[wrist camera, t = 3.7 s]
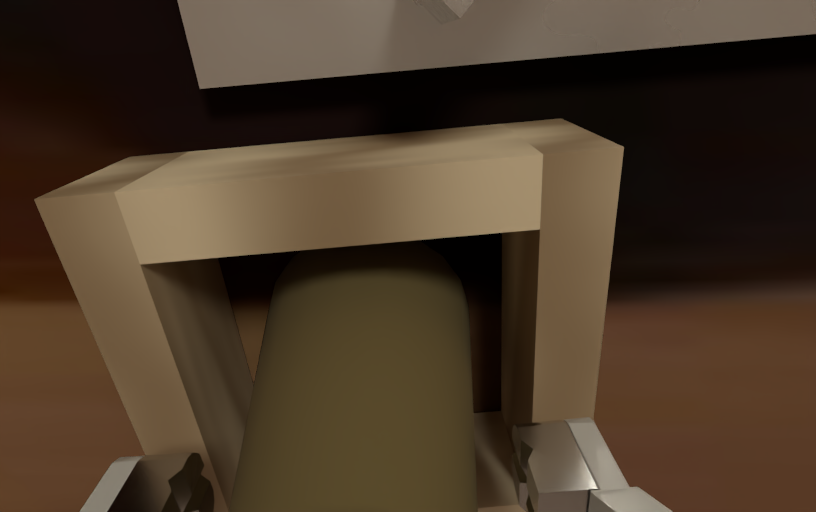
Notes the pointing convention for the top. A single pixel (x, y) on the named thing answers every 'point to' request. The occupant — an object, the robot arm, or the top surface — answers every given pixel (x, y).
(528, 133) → the wooden holder
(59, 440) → the top surface
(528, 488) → the robot arm
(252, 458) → the cork
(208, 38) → the white ridged plate
